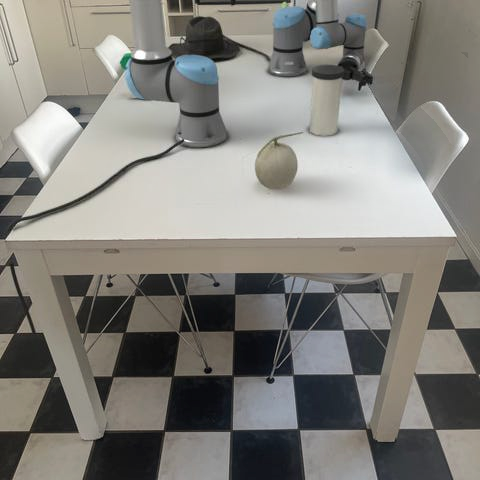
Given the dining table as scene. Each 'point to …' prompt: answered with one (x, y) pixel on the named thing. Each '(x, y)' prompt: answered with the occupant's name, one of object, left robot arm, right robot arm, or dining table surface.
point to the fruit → (276, 164)
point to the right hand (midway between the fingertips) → (338, 85)
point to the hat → (204, 40)
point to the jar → (325, 106)
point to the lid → (327, 72)
